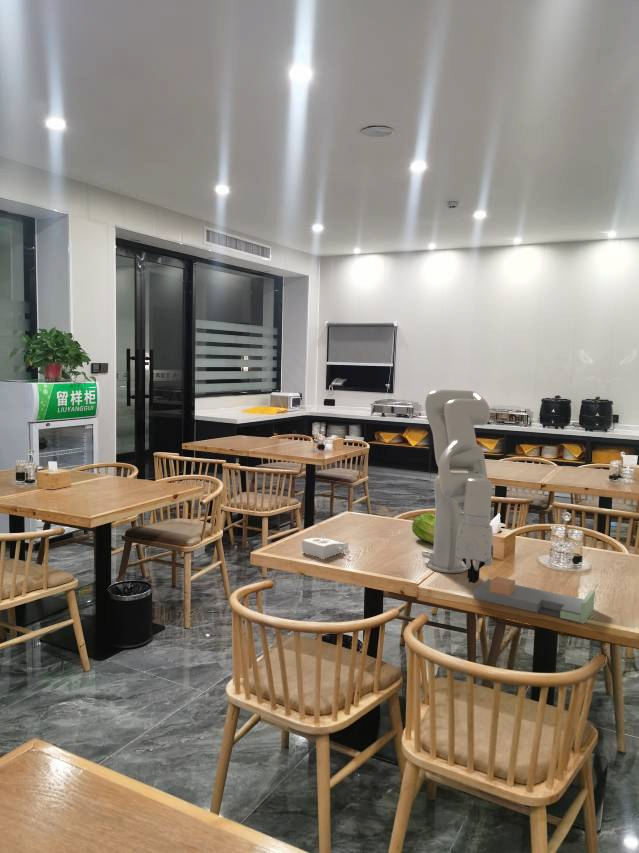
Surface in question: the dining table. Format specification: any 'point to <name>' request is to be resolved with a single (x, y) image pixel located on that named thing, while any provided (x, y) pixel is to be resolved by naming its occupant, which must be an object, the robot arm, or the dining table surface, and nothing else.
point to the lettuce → (424, 527)
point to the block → (502, 586)
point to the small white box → (323, 547)
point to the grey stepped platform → (541, 602)
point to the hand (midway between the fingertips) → (472, 581)
